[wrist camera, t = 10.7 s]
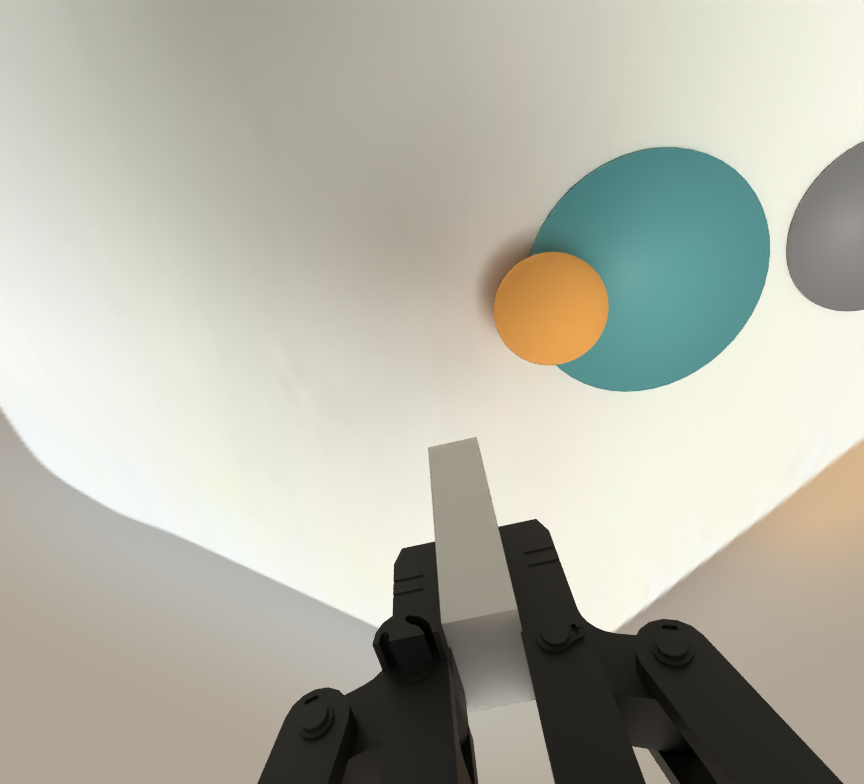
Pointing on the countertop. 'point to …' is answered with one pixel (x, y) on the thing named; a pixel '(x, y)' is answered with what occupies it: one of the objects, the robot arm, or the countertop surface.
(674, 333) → the disc
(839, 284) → the disc
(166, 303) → the countertop surface
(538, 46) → the countertop surface
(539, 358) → the ball
